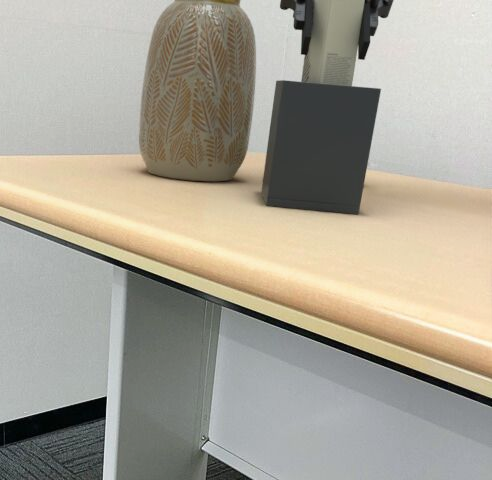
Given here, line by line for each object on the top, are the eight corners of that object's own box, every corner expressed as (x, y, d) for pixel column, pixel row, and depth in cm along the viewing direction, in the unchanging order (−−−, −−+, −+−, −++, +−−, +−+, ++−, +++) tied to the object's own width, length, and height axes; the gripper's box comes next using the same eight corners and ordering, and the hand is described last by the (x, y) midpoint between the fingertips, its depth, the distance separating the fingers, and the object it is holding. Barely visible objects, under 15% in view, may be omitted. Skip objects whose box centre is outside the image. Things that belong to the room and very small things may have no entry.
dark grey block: (358, 214, 94) (381, 88, 89) (266, 205, 95) (283, 80, 90) (344, 200, 105) (363, 88, 100) (261, 193, 106) (276, 80, 101)
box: (332, 87, 98) (350, -22, 94) (352, 88, 94) (371, -25, 90) (297, 84, 96) (313, -27, 92) (316, 85, 92) (334, -31, 88)
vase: (262, 179, 121) (287, -4, 112) (211, 187, 107) (234, -21, 98) (171, 165, 129) (187, -6, 120) (114, 171, 116) (126, -22, 106)
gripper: (402, -48, 103) (406, 78, 93) (261, -58, 104) (251, 65, 94) (419, -101, 96) (426, 29, 86) (269, -111, 97) (259, 16, 87)
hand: (335, 48), depth 90 cm, fingers closed on box, 6 cm apart
